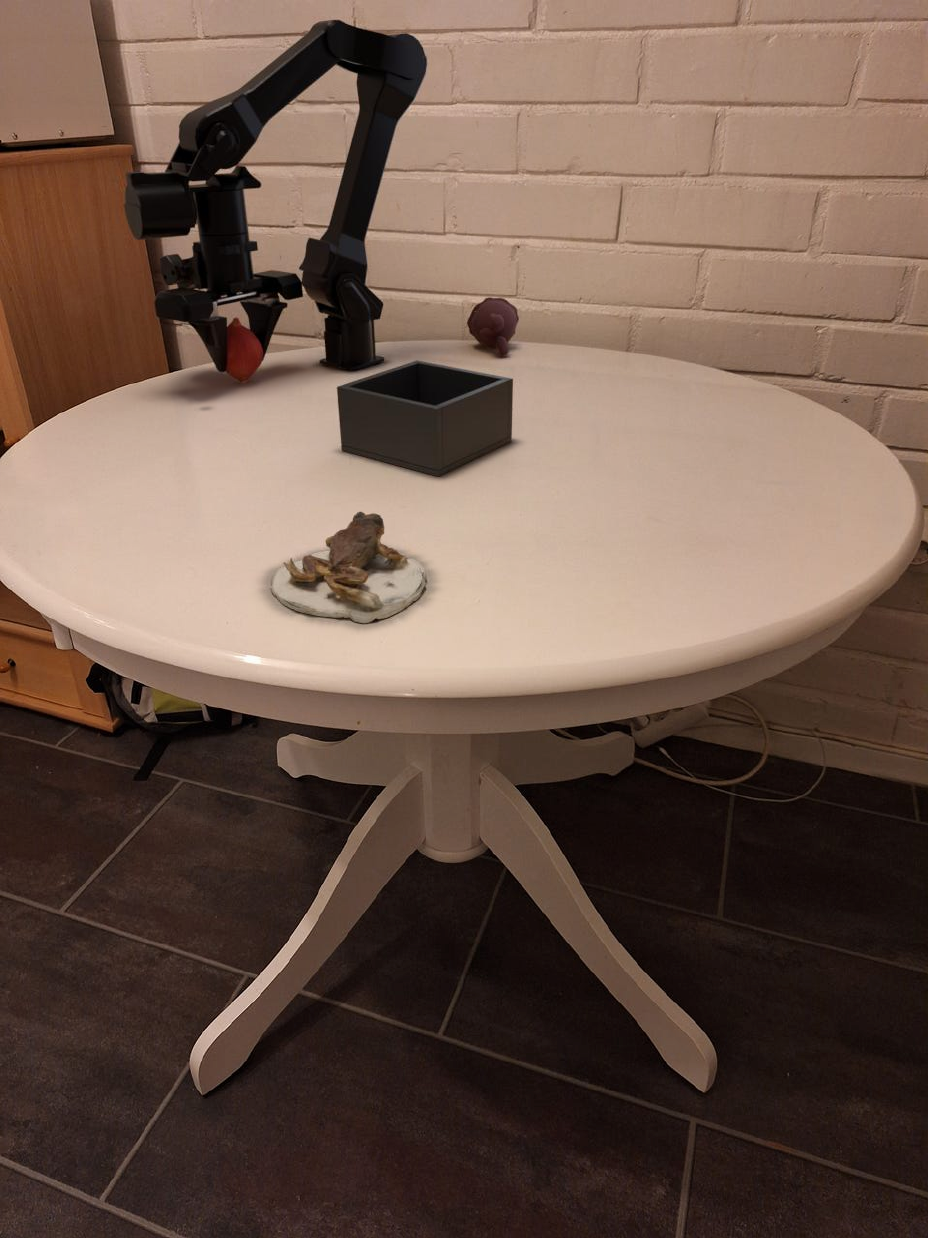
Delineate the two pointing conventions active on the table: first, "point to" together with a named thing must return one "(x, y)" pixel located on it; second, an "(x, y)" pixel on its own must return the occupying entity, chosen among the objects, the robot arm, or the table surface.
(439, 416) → the bin
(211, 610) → the table surface
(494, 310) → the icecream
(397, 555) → the frog figurine
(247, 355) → the onion
